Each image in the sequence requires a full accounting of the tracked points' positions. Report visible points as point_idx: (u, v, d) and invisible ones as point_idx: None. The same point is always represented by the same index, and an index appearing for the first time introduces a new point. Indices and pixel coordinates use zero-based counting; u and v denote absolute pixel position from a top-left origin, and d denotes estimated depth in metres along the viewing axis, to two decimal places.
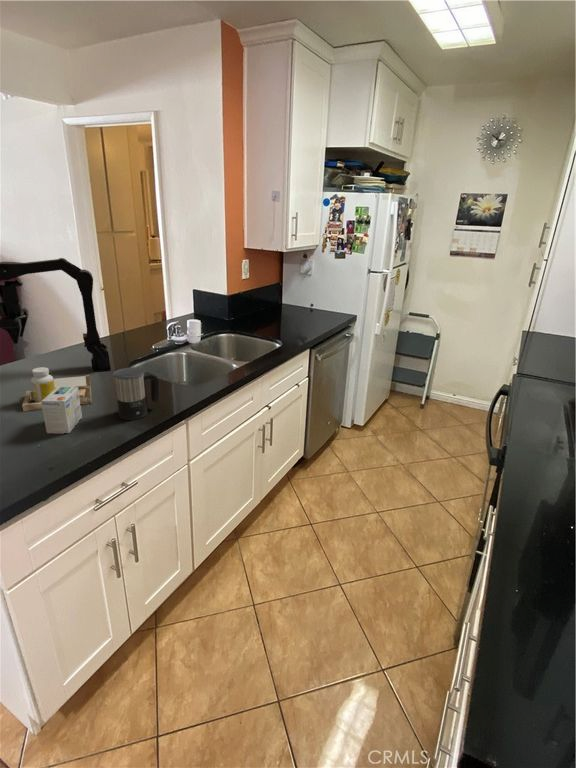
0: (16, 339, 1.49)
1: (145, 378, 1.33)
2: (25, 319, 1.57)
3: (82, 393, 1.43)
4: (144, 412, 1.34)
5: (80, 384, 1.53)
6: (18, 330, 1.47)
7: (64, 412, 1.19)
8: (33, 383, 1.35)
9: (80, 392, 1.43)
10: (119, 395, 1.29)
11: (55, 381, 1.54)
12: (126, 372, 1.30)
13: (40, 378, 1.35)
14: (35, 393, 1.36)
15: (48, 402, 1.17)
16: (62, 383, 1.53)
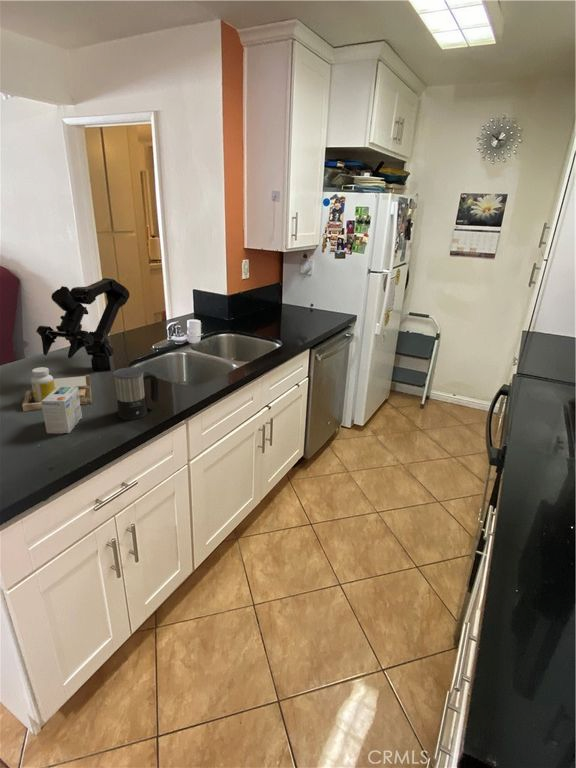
0: None
1: (145, 378, 1.33)
2: None
3: (82, 393, 1.43)
4: (144, 412, 1.35)
5: (80, 384, 1.53)
6: None
7: (64, 412, 1.19)
8: (33, 383, 1.35)
9: (80, 392, 1.43)
10: (119, 395, 1.30)
11: (55, 381, 1.54)
12: (126, 372, 1.30)
13: (40, 378, 1.35)
14: (35, 393, 1.36)
15: (48, 402, 1.17)
16: (62, 383, 1.53)
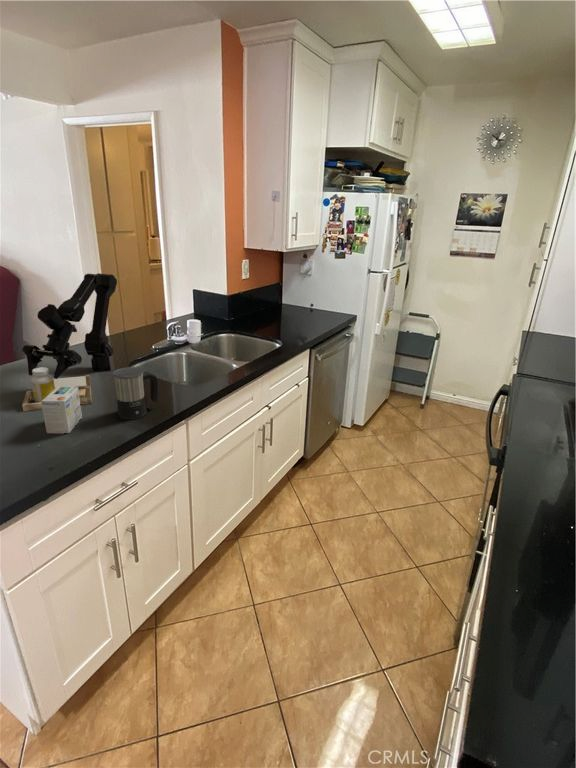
0: None
1: (144, 378, 1.33)
2: None
3: (82, 393, 1.43)
4: (143, 412, 1.35)
5: (80, 384, 1.53)
6: None
7: (64, 412, 1.19)
8: (33, 383, 1.35)
9: (80, 392, 1.43)
10: (118, 395, 1.30)
11: (55, 381, 1.54)
12: (125, 372, 1.30)
13: (40, 378, 1.35)
14: (35, 393, 1.36)
15: (48, 402, 1.17)
16: (62, 383, 1.53)
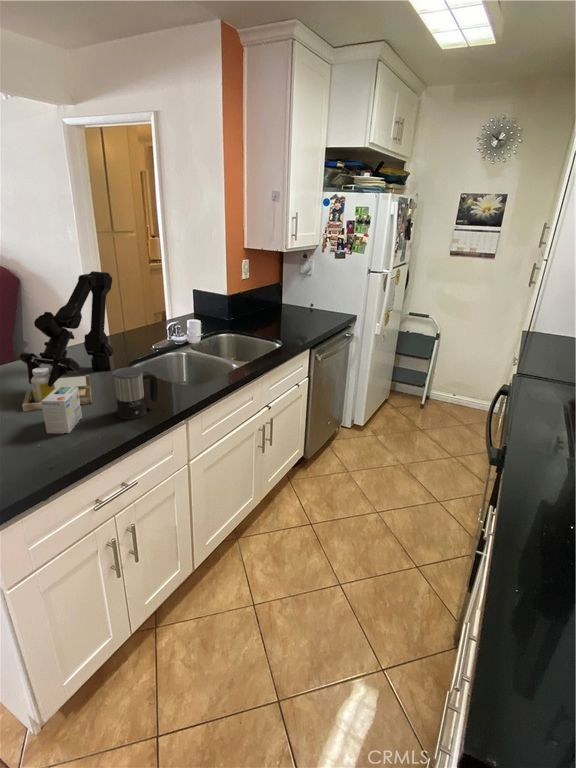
0: None
1: (144, 378, 1.33)
2: None
3: (83, 393, 1.43)
4: (143, 411, 1.35)
5: (80, 384, 1.53)
6: None
7: (64, 412, 1.19)
8: (33, 383, 1.34)
9: (80, 392, 1.43)
10: (118, 394, 1.30)
11: None
12: (125, 372, 1.30)
13: (40, 378, 1.35)
14: (35, 393, 1.36)
15: (48, 402, 1.17)
16: (62, 383, 1.53)
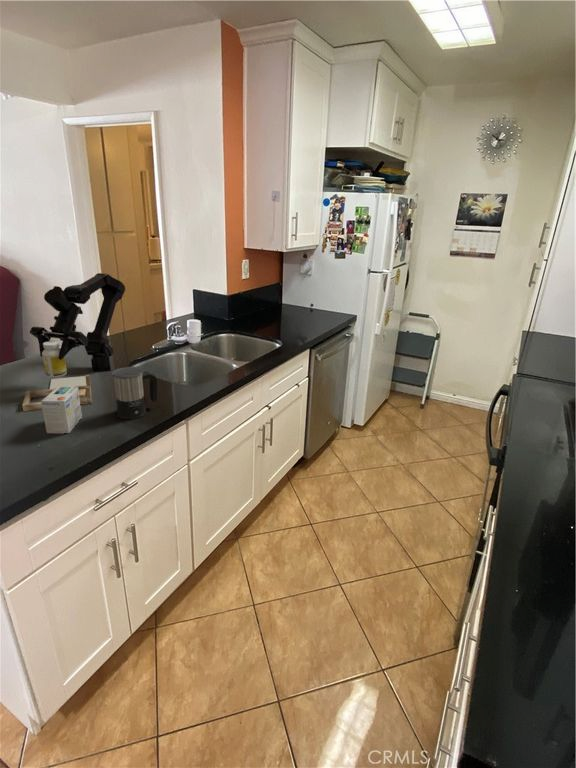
0: None
1: (144, 377, 1.33)
2: None
3: (83, 393, 1.43)
4: (143, 411, 1.35)
5: (80, 384, 1.53)
6: None
7: (64, 412, 1.19)
8: (44, 356, 1.38)
9: (80, 392, 1.43)
10: (118, 394, 1.30)
11: (55, 381, 1.54)
12: (125, 372, 1.30)
13: (51, 352, 1.38)
14: (46, 366, 1.40)
15: (48, 402, 1.17)
16: (62, 383, 1.53)
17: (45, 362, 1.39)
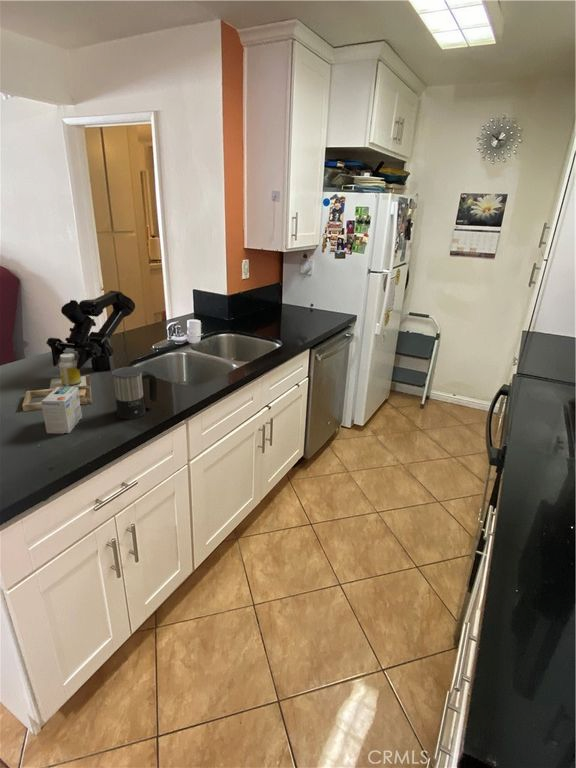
0: None
1: (143, 377, 1.33)
2: None
3: (82, 393, 1.43)
4: (142, 411, 1.35)
5: (80, 384, 1.53)
6: None
7: (64, 412, 1.19)
8: (60, 367, 1.47)
9: (81, 392, 1.43)
10: (117, 394, 1.30)
11: (55, 381, 1.54)
12: (124, 372, 1.31)
13: (67, 363, 1.47)
14: (62, 376, 1.48)
15: (48, 402, 1.17)
16: None
17: (61, 373, 1.48)
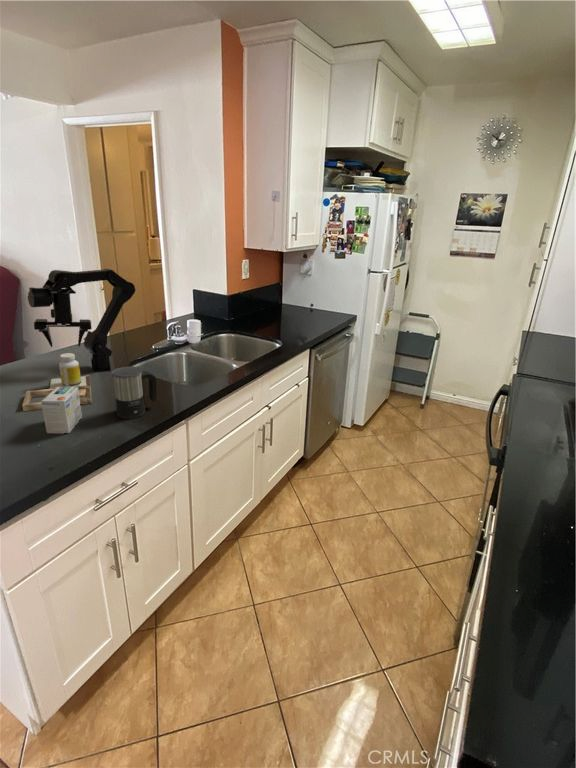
0: (49, 342, 1.54)
1: (143, 377, 1.34)
2: (79, 331, 1.55)
3: (83, 393, 1.43)
4: (142, 411, 1.35)
5: (80, 384, 1.53)
6: None
7: (64, 412, 1.19)
8: (60, 367, 1.47)
9: (81, 392, 1.43)
10: (117, 394, 1.30)
11: (55, 381, 1.54)
12: (124, 371, 1.31)
13: (67, 363, 1.47)
14: (62, 376, 1.48)
15: (48, 402, 1.17)
16: None
17: (61, 373, 1.48)
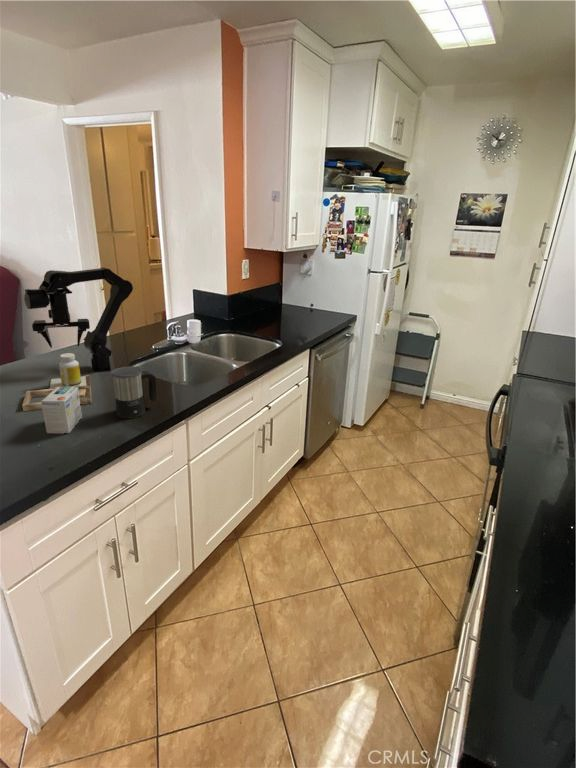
0: None
1: (143, 377, 1.34)
2: None
3: (82, 393, 1.43)
4: (142, 411, 1.35)
5: (80, 384, 1.53)
6: None
7: (64, 412, 1.19)
8: (60, 367, 1.47)
9: (81, 392, 1.43)
10: (117, 394, 1.30)
11: (55, 381, 1.54)
12: (124, 371, 1.31)
13: (67, 363, 1.47)
14: (62, 376, 1.48)
15: (48, 402, 1.17)
16: None
17: (61, 373, 1.48)
